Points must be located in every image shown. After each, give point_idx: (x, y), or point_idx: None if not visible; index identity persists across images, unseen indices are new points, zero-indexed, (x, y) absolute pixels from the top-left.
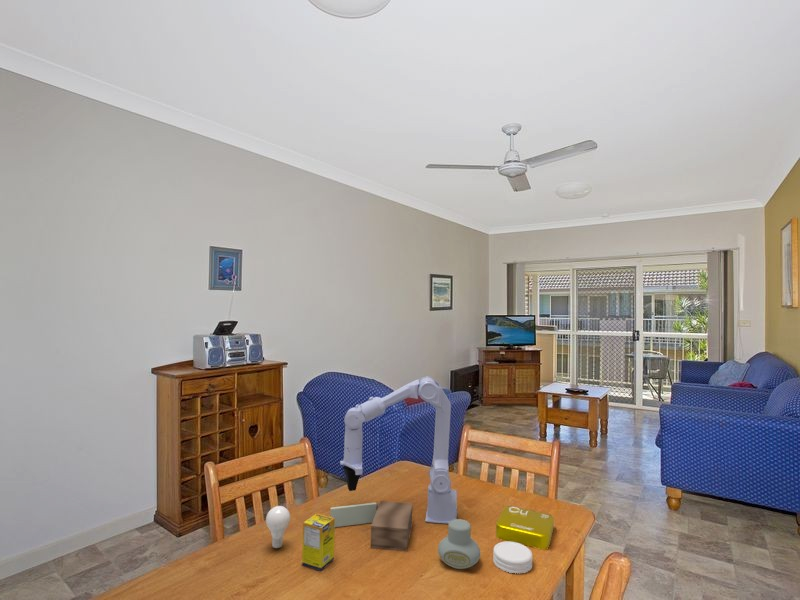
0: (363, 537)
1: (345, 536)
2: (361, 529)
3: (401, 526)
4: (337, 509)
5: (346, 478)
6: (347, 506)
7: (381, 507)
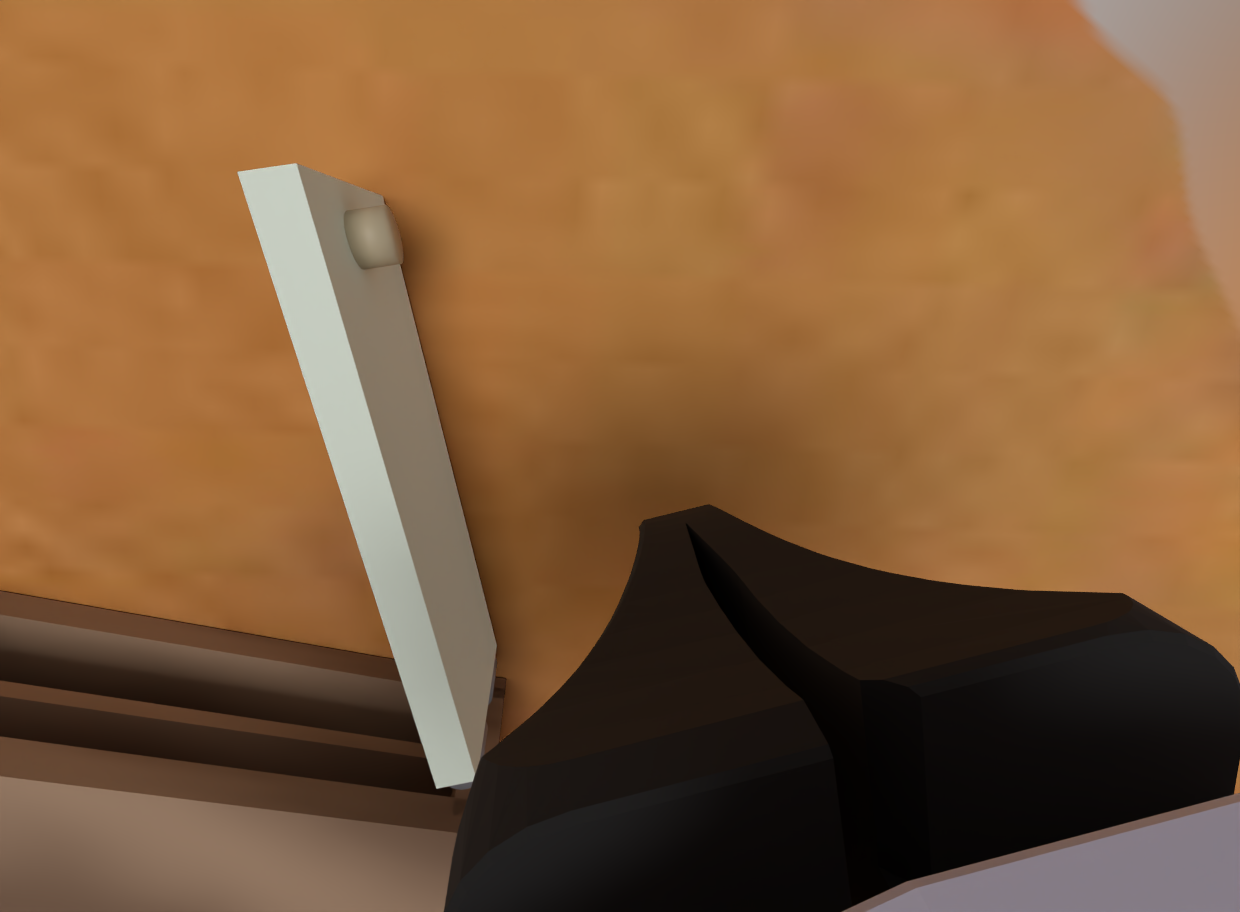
0: (174, 534)
1: (178, 365)
2: (335, 522)
3: None
4: (279, 287)
5: (793, 562)
6: (352, 445)
7: (296, 847)
